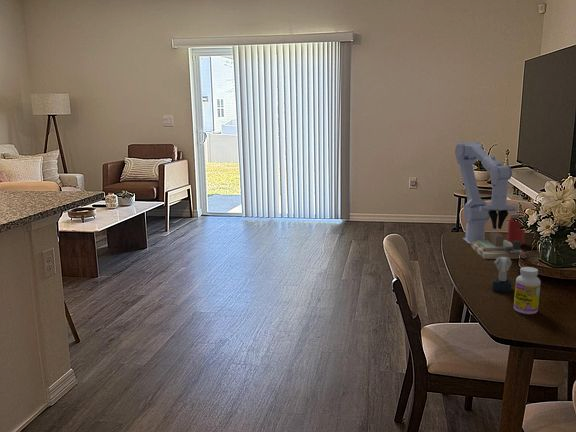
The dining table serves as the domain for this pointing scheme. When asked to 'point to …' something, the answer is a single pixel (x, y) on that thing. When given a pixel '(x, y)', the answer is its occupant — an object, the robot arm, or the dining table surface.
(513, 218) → the beer can
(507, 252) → the picture frame
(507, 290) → the white and black piece
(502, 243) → the cover
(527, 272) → the supplement bottle
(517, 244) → the latch bolt
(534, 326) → the dining table surface
